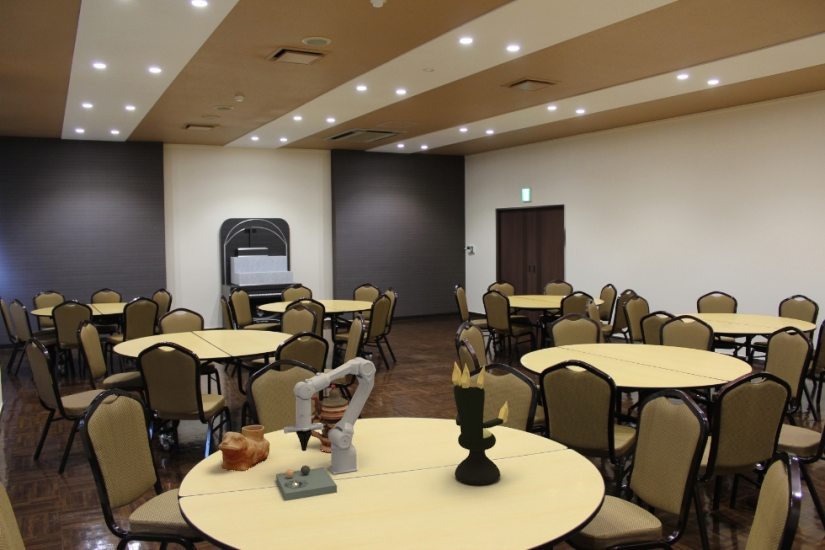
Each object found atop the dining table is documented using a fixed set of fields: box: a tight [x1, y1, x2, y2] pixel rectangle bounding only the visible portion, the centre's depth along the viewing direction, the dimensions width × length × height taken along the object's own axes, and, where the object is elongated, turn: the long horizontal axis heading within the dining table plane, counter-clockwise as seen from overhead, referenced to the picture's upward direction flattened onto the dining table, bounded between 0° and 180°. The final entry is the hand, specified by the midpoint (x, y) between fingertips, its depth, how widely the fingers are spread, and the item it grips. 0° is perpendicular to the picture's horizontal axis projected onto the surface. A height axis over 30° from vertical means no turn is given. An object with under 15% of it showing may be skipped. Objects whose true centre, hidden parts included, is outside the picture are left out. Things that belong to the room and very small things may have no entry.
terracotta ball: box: [285, 469, 294, 478], centre depth 238 cm, size 3×3×3 cm
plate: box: [275, 466, 338, 501], centre depth 236 cm, size 18×20×2 cm
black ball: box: [300, 464, 311, 475], centre depth 241 cm, size 3×3×3 cm
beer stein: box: [311, 384, 353, 454], centre depth 279 cm, size 17×28×18 cm
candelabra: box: [451, 361, 509, 486], centre depth 237 cm, size 19×22×45 cm
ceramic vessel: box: [218, 424, 271, 472], centre depth 262 cm, size 14×26×15 cm, turn 158°
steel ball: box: [291, 482, 300, 487], centre depth 232 cm, size 3×3×3 cm
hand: (303, 450), depth 245 cm, fingers closed
